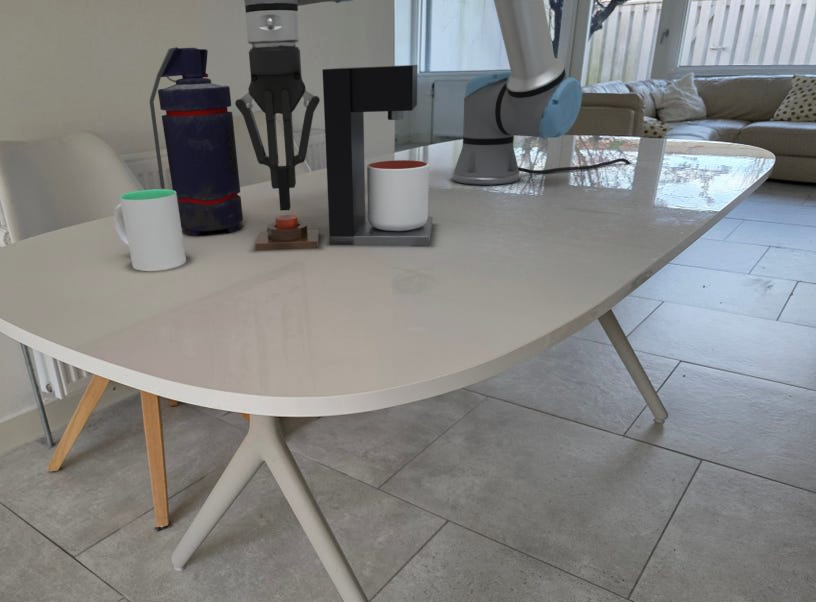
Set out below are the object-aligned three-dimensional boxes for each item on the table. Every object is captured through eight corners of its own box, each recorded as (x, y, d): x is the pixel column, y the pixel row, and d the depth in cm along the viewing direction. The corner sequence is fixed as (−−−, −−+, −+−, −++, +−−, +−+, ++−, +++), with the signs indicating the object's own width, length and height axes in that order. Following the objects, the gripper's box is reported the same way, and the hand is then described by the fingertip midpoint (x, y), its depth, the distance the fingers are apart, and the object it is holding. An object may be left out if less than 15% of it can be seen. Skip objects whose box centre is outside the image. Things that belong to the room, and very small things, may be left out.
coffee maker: (432, 225, 111) (436, 63, 99) (428, 245, 98) (433, 64, 87) (343, 224, 113) (338, 68, 102) (329, 245, 101) (322, 69, 90)
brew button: (298, 224, 104) (298, 214, 103) (297, 230, 100) (296, 219, 100) (277, 225, 104) (276, 215, 103) (275, 230, 100) (274, 220, 100)
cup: (430, 232, 100) (432, 168, 96) (369, 234, 100) (368, 170, 96) (424, 218, 109) (425, 159, 105) (367, 220, 109) (366, 161, 105)
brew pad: (319, 236, 107) (318, 218, 105) (317, 248, 99) (316, 230, 98) (261, 238, 107) (259, 220, 106) (255, 250, 100) (253, 232, 98)
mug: (102, 264, 96) (88, 196, 91) (140, 251, 102) (129, 186, 98) (160, 273, 90) (148, 201, 86) (197, 258, 97) (187, 190, 92)
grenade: (238, 218, 121) (220, 47, 108) (248, 232, 111) (230, 44, 98) (166, 226, 118) (138, 50, 105) (169, 241, 107) (139, 47, 94)
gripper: (225, 47, 87) (242, 215, 97) (317, 43, 87) (325, 212, 97) (233, 48, 94) (248, 205, 104) (319, 45, 94) (325, 202, 104)
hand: (285, 208), depth 101 cm, fingers closed
